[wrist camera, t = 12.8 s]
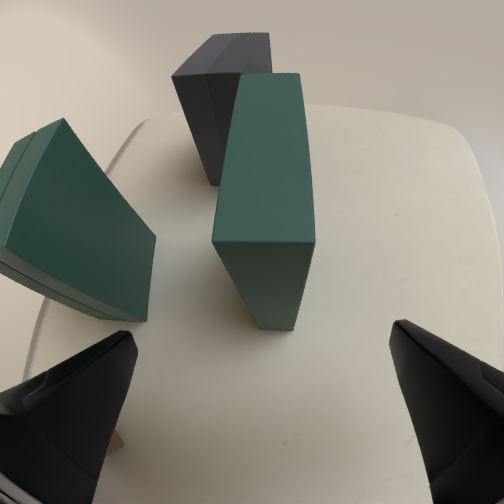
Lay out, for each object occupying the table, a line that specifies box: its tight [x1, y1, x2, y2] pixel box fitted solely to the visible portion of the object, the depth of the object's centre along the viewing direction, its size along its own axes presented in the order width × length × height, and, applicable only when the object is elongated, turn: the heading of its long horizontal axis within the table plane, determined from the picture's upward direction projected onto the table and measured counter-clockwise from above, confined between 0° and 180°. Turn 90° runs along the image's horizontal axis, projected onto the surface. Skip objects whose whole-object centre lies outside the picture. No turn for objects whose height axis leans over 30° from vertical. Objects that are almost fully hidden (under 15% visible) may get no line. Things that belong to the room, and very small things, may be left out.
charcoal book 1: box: [171, 33, 240, 186], centre depth 19 cm, size 7×2×11 cm, turn 166°
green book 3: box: [212, 73, 316, 330], centre depth 13 cm, size 7×2×13 cm, turn 177°
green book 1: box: [0, 132, 120, 320], centre depth 14 cm, size 7×2×13 cm, turn 1°
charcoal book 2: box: [205, 33, 272, 152], centre depth 19 cm, size 7×2×11 cm, turn 166°
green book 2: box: [0, 118, 156, 322], centre depth 14 cm, size 7×2×13 cm, turn 1°
